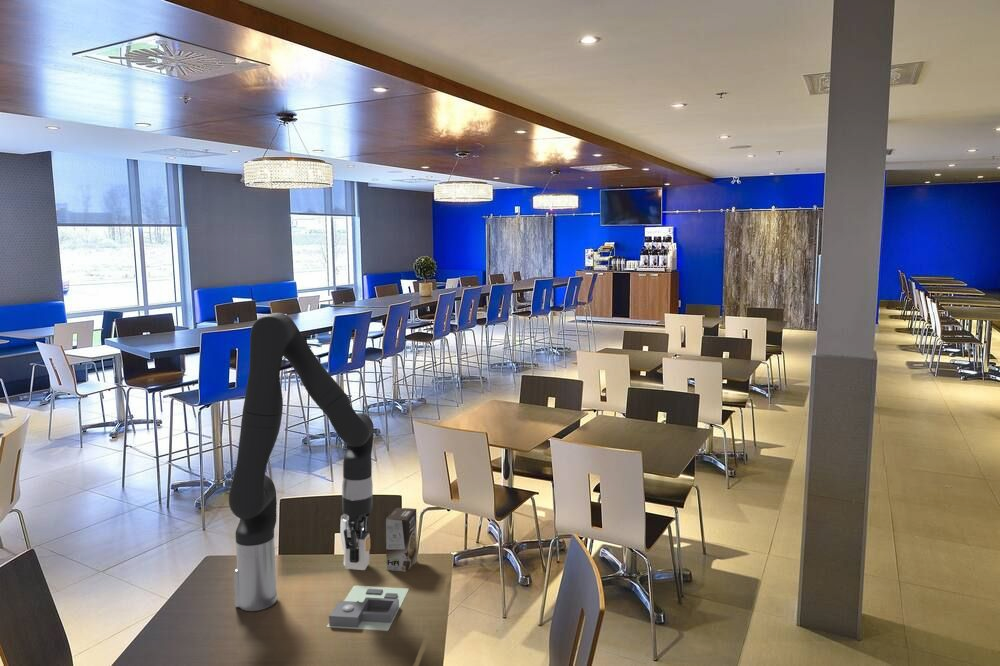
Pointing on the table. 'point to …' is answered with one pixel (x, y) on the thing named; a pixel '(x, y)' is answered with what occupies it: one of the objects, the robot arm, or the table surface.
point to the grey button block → (347, 614)
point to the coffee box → (401, 539)
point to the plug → (363, 554)
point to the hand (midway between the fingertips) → (357, 557)
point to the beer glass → (342, 527)
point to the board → (377, 606)
